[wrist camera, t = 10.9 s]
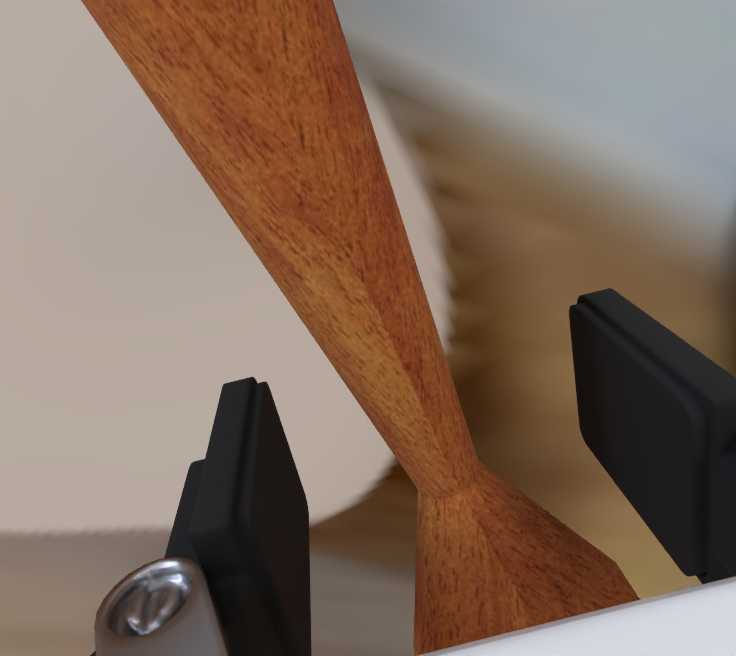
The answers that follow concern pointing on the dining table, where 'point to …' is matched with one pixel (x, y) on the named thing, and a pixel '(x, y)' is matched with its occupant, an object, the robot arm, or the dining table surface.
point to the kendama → (354, 289)
